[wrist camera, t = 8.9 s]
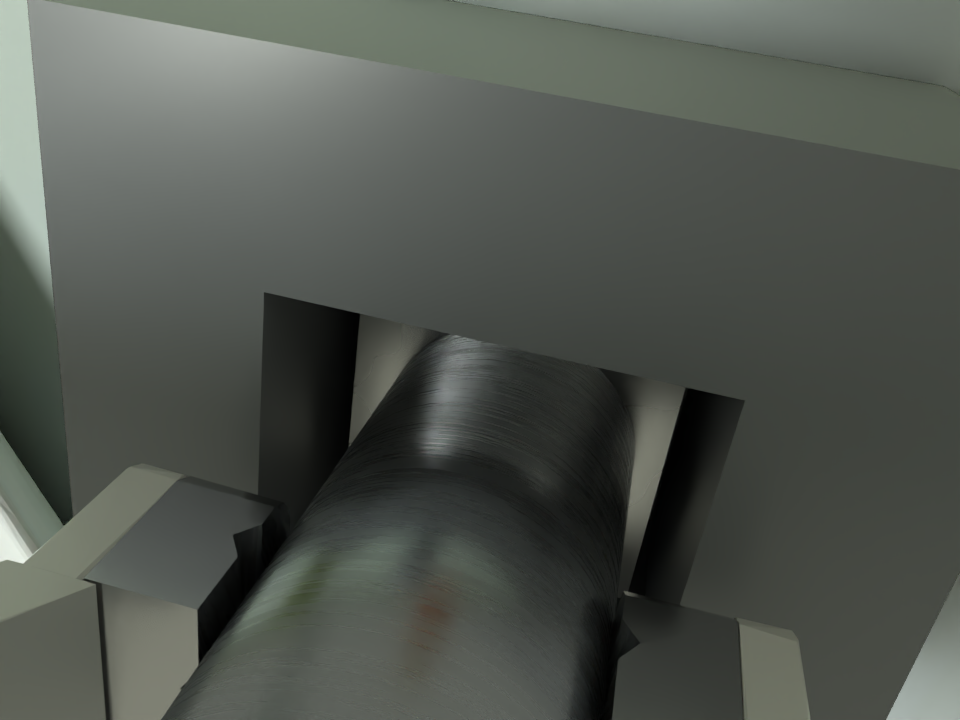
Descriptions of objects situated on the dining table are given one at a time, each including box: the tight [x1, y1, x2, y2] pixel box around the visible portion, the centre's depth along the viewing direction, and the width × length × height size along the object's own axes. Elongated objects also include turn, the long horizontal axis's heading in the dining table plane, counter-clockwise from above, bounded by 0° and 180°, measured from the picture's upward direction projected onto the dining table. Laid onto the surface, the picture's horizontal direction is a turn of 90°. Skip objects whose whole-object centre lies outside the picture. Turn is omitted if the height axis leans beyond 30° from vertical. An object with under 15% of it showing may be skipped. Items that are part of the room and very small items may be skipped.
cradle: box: [27, 0, 960, 720], centre depth 12 cm, size 9×10×6 cm
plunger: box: [349, 314, 686, 598], centre depth 12 cm, size 4×4×1 cm
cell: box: [161, 334, 635, 720], centre depth 8 cm, size 3×3×8 cm
